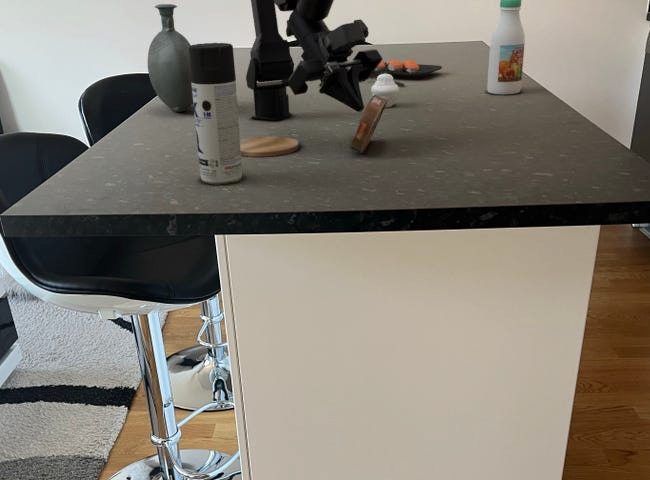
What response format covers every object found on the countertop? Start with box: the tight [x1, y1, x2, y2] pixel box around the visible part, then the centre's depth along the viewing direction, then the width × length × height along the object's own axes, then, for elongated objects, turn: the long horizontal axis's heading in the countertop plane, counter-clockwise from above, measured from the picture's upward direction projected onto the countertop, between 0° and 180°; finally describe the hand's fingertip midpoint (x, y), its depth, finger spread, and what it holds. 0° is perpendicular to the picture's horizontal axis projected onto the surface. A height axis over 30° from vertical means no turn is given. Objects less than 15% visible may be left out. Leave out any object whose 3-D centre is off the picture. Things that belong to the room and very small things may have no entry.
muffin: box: [370, 73, 400, 108], centre depth 170 cm, size 6×6×7 cm
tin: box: [349, 95, 388, 154], centre depth 136 cm, size 15×3×8 cm, turn 168°
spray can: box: [189, 42, 243, 185], centre depth 118 cm, size 7×7×20 cm
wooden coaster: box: [240, 136, 299, 158], centre depth 140 cm, size 12×12×1 cm
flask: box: [147, 3, 194, 113], centre depth 168 cm, size 12×17×22 cm
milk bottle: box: [486, 0, 526, 95], centre depth 177 cm, size 8×8×20 cm
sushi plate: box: [319, 59, 443, 87], centre depth 203 cm, size 29×30×4 cm
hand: (361, 110), depth 134 cm, fingers closed
